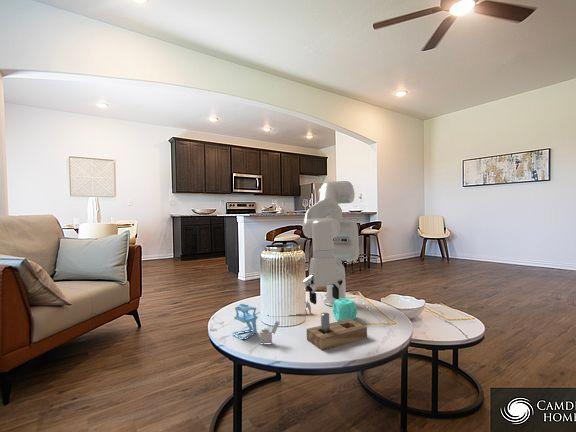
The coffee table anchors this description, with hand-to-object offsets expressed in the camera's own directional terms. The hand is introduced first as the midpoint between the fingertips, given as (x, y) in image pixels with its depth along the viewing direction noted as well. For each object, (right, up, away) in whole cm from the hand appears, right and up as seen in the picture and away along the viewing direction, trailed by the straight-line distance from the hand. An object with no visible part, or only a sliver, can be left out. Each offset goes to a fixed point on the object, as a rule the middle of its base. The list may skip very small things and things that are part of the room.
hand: (324, 300), depth 109 cm
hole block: (+5, -15, +2) cm, 15 cm away
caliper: (-13, -15, +30) cm, 36 cm away
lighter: (-20, -16, 0) cm, 25 cm away
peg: (0, -15, 0) cm, 15 cm away
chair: (-30, -16, +8) cm, 35 cm away
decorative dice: (+11, -14, +22) cm, 29 cm away
